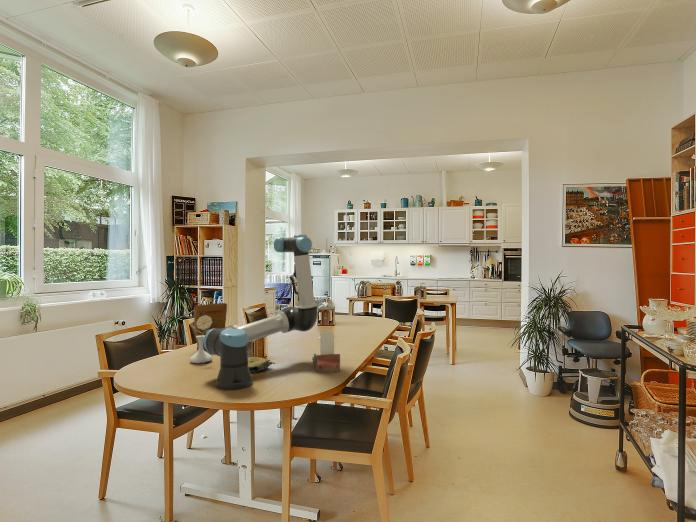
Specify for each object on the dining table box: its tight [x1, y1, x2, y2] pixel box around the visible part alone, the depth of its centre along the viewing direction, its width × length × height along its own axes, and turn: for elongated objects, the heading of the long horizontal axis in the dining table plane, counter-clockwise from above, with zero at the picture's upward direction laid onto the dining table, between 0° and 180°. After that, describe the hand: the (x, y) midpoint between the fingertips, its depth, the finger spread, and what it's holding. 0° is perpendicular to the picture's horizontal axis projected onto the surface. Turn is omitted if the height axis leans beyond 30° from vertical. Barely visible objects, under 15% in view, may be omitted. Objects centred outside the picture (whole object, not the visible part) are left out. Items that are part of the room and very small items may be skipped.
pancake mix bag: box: [193, 302, 228, 352], centre depth 245 cm, size 7×19×28 cm, turn 111°
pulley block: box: [248, 356, 276, 374], centre depth 205 cm, size 14×6×30 cm
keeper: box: [319, 330, 335, 355], centre depth 200 cm, size 6×6×16 cm
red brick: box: [311, 353, 341, 373], centre depth 207 cm, size 24×11×8 cm, turn 11°
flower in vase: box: [189, 315, 213, 364], centre depth 216 cm, size 13×11×25 cm
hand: (301, 307), depth 219 cm, fingers closed
